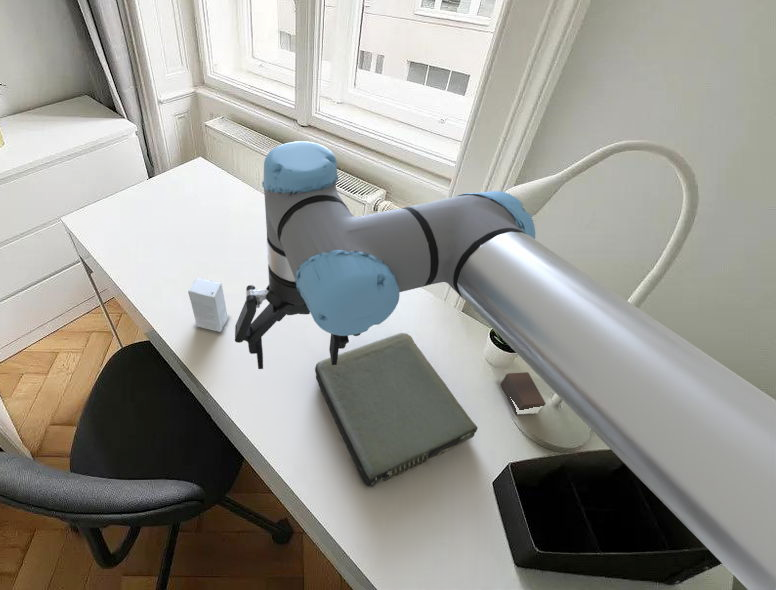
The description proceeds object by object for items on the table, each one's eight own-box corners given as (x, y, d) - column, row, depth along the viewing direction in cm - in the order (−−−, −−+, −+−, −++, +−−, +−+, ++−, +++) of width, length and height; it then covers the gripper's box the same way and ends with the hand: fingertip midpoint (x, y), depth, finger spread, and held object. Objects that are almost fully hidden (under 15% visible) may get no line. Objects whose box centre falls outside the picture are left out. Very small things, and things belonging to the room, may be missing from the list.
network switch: (376, 507, 64) (380, 496, 61) (300, 382, 80) (301, 368, 77) (481, 433, 72) (490, 420, 69) (393, 333, 88) (397, 319, 85)
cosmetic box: (228, 317, 92) (222, 282, 85) (221, 333, 89) (214, 298, 81) (204, 311, 94) (196, 276, 86) (195, 326, 90) (187, 291, 83)
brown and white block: (537, 414, 74) (546, 403, 72) (515, 415, 74) (523, 405, 72) (520, 382, 79) (528, 372, 76) (500, 384, 79) (507, 373, 76)
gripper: (384, 236, 53) (364, 334, 67) (206, 245, 53) (224, 342, 67) (400, 280, 47) (375, 377, 61) (201, 290, 47) (221, 386, 61)
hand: (296, 359), depth 64 cm, fingers open, 11 cm apart
